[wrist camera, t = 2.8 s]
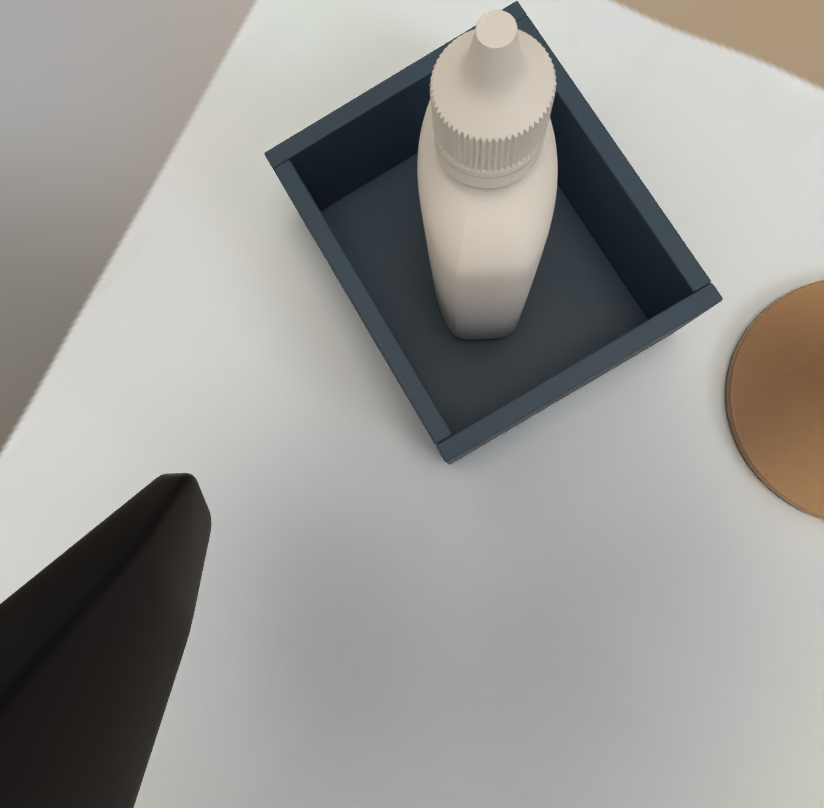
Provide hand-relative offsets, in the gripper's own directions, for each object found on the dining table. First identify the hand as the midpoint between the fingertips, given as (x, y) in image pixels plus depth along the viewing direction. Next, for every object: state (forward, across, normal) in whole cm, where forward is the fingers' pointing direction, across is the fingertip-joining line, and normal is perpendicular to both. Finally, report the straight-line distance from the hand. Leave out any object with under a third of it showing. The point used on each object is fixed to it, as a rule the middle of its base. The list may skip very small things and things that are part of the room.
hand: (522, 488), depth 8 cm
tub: (+15, 0, +4) cm, 15 cm away
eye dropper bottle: (+15, 0, +4) cm, 15 cm away
